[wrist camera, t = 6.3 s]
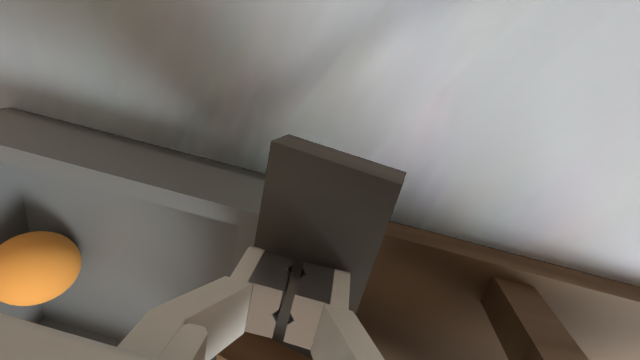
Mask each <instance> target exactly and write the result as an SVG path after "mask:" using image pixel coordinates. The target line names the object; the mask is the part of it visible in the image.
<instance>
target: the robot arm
mask: <svg viewBox="0 0 640 360" xmlns="http://www.w3.org/2000/svg"><path fill="white" fill-rule="evenodd" d="M294 260H295V258H291V257H288V256H285V255H281V254H278V253H275V252H271V251H268V250H264V249H260V248H257V247H253V246H250V247H249V248H248V249H247V250H246V252H245V253H244V255H243V257H242V258H241V260H240V262H239V263H238V265H237V266H236V268H235V270H234V271H233V273H232V274H231V276H230V277H227V276H224V277H222V278H220V279H217V280H215V281H213V282H211V283H208V284H206V285H204V286H202V287H199V288H197V289H195V290H193V291H190V292H188V293H186V294H184V295H181V296H179V297H177V298H174V299H172V300H170V301H168V302H165V303H163V304H161V305H159V306H156V307H154V308H152V309H150V310H149V311H148V312H147V313H146V314H145V315H144V316H143V317H142V319H141V320H140V321H139V322H138V323H137V324H136V325H135V327H134V328H133V329H132V330H131V331H130V332H129V334H128V335H127V336H126V337H125V338H124V339H123V340H122V342H121V343H120V344H119V345H118V346H117V347H115V346H111V345H108V344H105V343H101V342H98V341H94V340H91V339H87V338H84V337H80V336H77V335H73V334H70V333H67V332H63V331H60V330H56V329H53V328H49V327H46V326H42V325H39V324H35V323H32V322H29V321H25V320H22V319H18V318H15V317H11V316H8V315H4V314H1V313H0V360H210V359H212V358H213V357H214V356H216V355H217V354H218V353H219V352H221V351H222V350H223V349H224V348H226V347H227V346H228V345H230V344H231V343H232V342H233V341H235V340H236V339H237V338H239V337H240V336H241V335H242V334H244V331H245V332H249V333H253V334H257V335H261V336H265V337H269V338H272V337H273V334H274V331H275V328H276V325H277V322H278V319H279V315H280V311H281V309H282V307H283V304H284V301H285V297H286V294H287V290H288V286H289V282H290V279H289V278H290V275H291V272H292V269H293V265H294ZM349 292H350V273H349V272H346V271H342V270H337V269H331V268H327V267H324V266H320V265H316V264H312V263H309V262H304V265H303V268H302V272H301V276H300V278H299V282H298V285H297V289H296V293H295V296H294V300H293V304H292V308H291V312H290V317H289V320H288V324H287V328H286V332H285V337H284V341H283V342H286V343H289V344H293V345H296V346H299V347H302V348H305V349H308V350H311V351H310V352H311V355H312V358H313V360H385V359H384V358H383V356H382V355H381V353H380V352H379V350H378V349H377V347H376V345H375V344H374V342H373V341H372V339H371V338H370V336H369V335H368V333H367V332H366V330H365V329H364V327H363V326H362V324H361V323H360V321H359V319H358V318H357V316H356V315H355V313H354V312H353V311H350V310H349Z"/></svg>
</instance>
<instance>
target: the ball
mask: <svg viewBox="0 0 640 360" xmlns="http://www.w3.org/2000/svg"><path fill="white" fill-rule="evenodd" d="M81 263H82V260H81V254H80V251H79V249H78V247H77V246H76V245H75V243H74V242H72V241H71V240H70V239H69V238H67V237H65V236H63V235H61V234H58V233H54V232H48V231H34V232H28V233H24V234H20V235H18V236H15V237H13V238H11V239H9V240H7V241H5V242H4V243H2V244H1V245H0V301H1V302H3V303H6V304H10V305H16V306H31V305H37V304H41V303H44V302H47V301H49V300H52V299H54V298H56V297H57V296H59V295H61V294H62V293H63V292H65V291H66V290H67V289H68V288H69V287H70V286H71V285H72V284H73V283H74V281H75V280H76V278H77V277H78V274H79V272H80V269H81Z"/></svg>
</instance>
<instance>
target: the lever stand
mask: <svg viewBox="0 0 640 360" xmlns="http://www.w3.org/2000/svg"><path fill="white" fill-rule="evenodd" d="M356 316H357V318H358V319H359V321H360V323H361V324H362V326H363V327H364V329H365V330H366V332H367V333H368V335H369V336H370V338H371V339H372V341H373V342H374V344H375V345H376V347H377V349H378V350H379V352H380V353H381V355H382V356H383V358H384V359H385V360H640V287H636V286H633V285H629V284H625V283H621V282H618V281H614V280H610V279H606V278H602V277H599V276H595V275H591V274H587V273H583V272H580V271H576V270H572V269H568V268H565V267H561V266H557V265H553V264H549V263H546V262H542V261H538V260H534V259H531V258H527V257H523V256H519V255H515V254H512V253H508V252H504V251H500V250H497V249H493V248H489V247H485V246H481V245H478V244H474V243H470V242H466V241H462V240H459V239H455V238H451V237H447V236H444V235H440V234H436V233H432V232H428V231H425V230H421V229H417V228H413V227H410V226H406V225H402V224H398V223H394V222H391V221H389V223H388V226H387V229H386V232H385V234H384V237H383V240H382V243H381V245H380V248H379V251H378V254H377V257H376V259H375V262H374V265H373V268H372V270H371V273H370V276H369V279H368V281H367V284H366V287H365V290H364V293H363V295H362V298H361V301H360V304H359V306H358V309H357V312H356Z"/></svg>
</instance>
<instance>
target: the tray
mask: <svg viewBox="0 0 640 360" xmlns="http://www.w3.org/2000/svg"><path fill="white" fill-rule="evenodd" d="M265 177H266V174H262V173H258V172H254V171H250V170H247V169H243V168H239V167H235V166H231V165H228V164H224V163H220V162H216V161H212V160H209V159H205V158H201V157H197V156H193V155H190V154H186V153H182V152H178V151H174V150H170V149H167V148H163V147H159V146H155V145H151V144H148V143H144V142H140V141H136V140H132V139H129V138H125V137H121V136H117V135H113V134H110V133H106V132H102V131H98V130H94V129H90V128H87V127H83V126H79V125H75V124H71V123H68V122H64V121H60V120H56V119H52V118H49V117H45V116H41V115H37V114H33V113H29V112H26V111H22V110H18V109H14V108H3V109H0V245H1V244H2V243H4V242H5V241H7V240H9V239H11V238H13V237H15V236H18V235H20V234H24V233H28V232H34V231H48V232H54V233H58V234H61V235H63V236H65V237H67V238H69V239H70V240H71V241H72V242H74V243H75V245H76V246H77V247H78V249H79V251H80V254H81V260H82V263H81V269H80V272H79V274H78V277H77V278H76V280H75V281H74V283H73V284H72V285H71V286H70V287H69V288H68V289H67V290H66V291H65V292H63V293H62V294H61V295H59V296H57V297H56V298H54V299H52V300H49V301H47V302H44V303H41V304H37V305H31V306H16V305H10V304H6V303H3V302H1V301H0V313H1V314H4V315H8V316H11V317H15V318H18V319H22V320H25V321H29V322H32V323H35V324H39V325H42V326H46V327H49V328H53V329H56V330H60V331H63V332H67V333H70V334H73V335H77V336H80V337H84V338H87V339H91V340H94V341H98V342H101V343H105V344H108V345H111V346H115V347H117V346H118V345H119V344H120V343H121V342H122V340H123V339H124V338H125V337H126V336H127V335H128V334H129V332H130V331H131V330H132V329H133V328H134V327H135V325H136V324H137V323H138V322H139V321H140V320H141V319H142V317H143V316H144V315H145V314H146V313H147V312H148V311H149V310H150V309H152V308H154V307H156V306H159V305H161V304H163V303H165V302H168V301H170V300H172V299H174V298H177V297H179V296H181V295H184V294H186V293H188V292H190V291H193V290H195V289H197V288H199V287H202V286H204V285H206V284H208V283H211V282H213V281H215V280H217V279H220V278H222V277H224V276H227V277H230V276H231V274H232V273H233V271H234V270H235V268H236V266H237V265H238V263H239V262H240V260H241V258H242V257H243V255H244V253H245V252H246V250H247V249H248V248H249V247H250V246H253V247H254V243H255V237H256V231H257V225H258V219H259V213H260V207H261V201H262V195H263V189H264V183H265ZM216 356H217V355H216ZM216 356H214V357H213V358H212V359H210V360H216Z"/></svg>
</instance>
